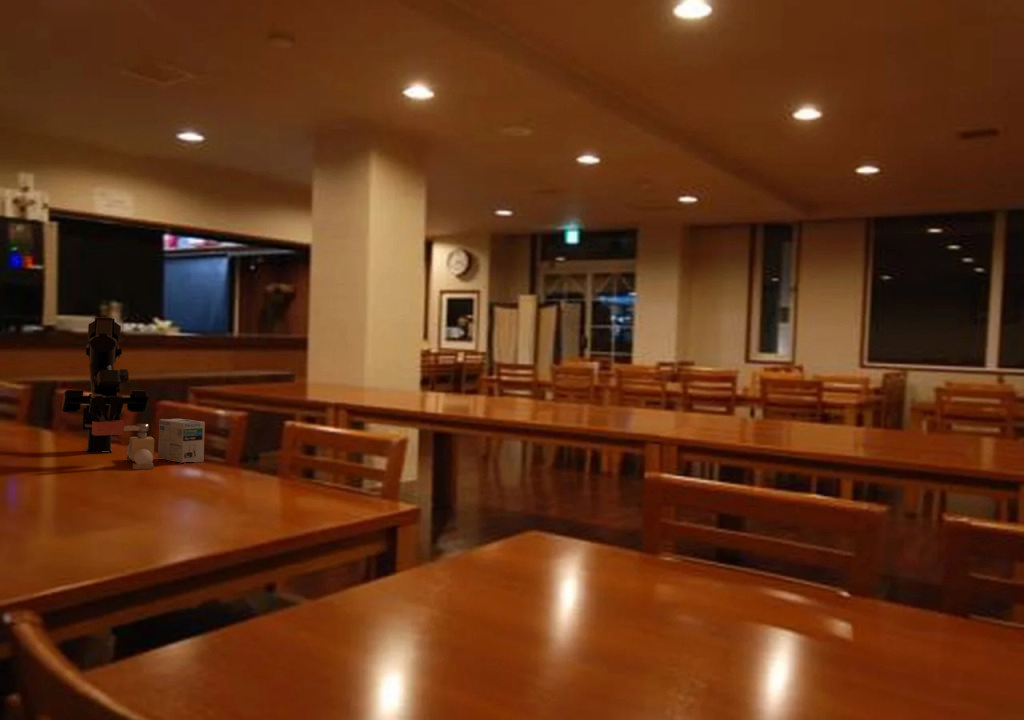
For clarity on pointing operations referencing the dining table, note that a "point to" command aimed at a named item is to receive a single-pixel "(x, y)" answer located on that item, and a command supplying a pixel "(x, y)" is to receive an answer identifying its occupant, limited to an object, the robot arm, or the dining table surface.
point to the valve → (141, 451)
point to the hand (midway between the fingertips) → (109, 427)
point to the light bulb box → (181, 440)
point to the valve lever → (115, 427)
